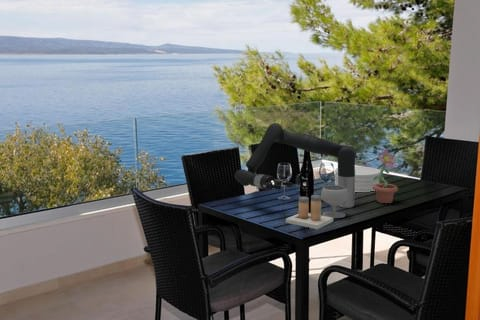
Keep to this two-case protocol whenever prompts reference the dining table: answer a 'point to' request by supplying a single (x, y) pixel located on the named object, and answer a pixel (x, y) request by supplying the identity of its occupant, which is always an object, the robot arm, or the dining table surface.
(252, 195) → the dining table surface
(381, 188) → the decorative flower
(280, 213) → the dining table surface
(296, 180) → the pneumatic valve
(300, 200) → the grey-capped tan peg
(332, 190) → the chalice
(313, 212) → the white board with post
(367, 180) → the plate stack
